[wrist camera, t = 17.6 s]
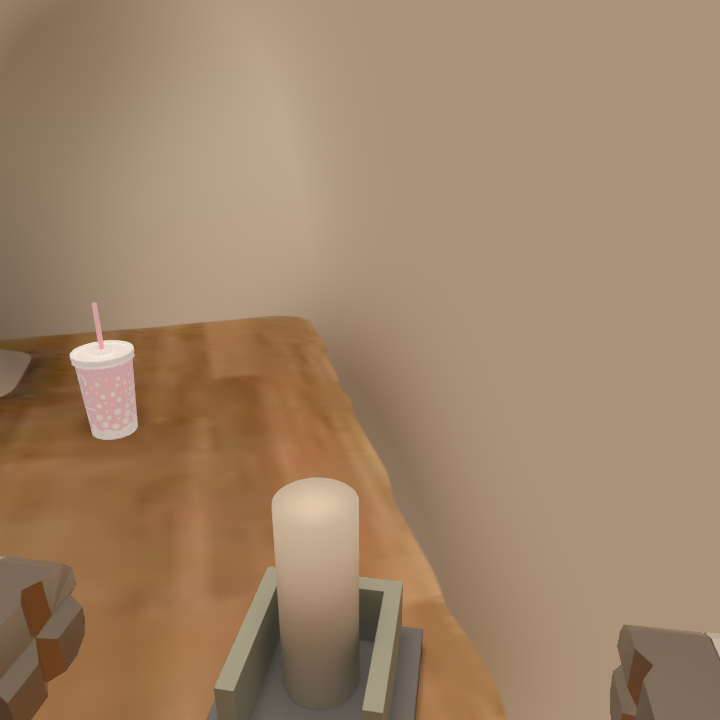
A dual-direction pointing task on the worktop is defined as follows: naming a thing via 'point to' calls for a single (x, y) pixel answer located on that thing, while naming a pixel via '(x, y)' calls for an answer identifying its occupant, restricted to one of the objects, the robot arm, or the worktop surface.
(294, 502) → the tall white cylinder
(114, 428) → the beverage cup
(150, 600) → the worktop surface
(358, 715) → the cradle jig
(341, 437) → the worktop surface
